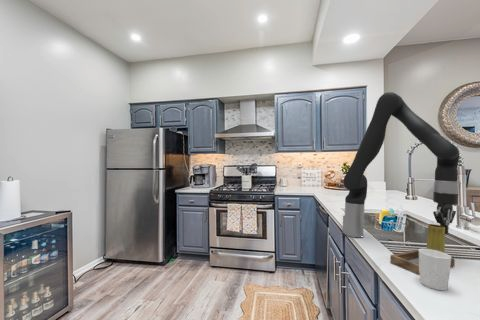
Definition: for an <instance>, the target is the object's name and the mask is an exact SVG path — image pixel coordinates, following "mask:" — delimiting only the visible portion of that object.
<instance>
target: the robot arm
mask: <svg viewBox="0 0 480 320" xmlns="http://www.w3.org/2000/svg"><path fill="white" fill-rule="evenodd" d="M391 117H394V118H395V119H397V121H399V122H401V123H402V124H403V125H404V127H406V129H407V130H408V131H409V132H410V133H411V134H412V136H413V137H415V138H416V139H417V140H418V141H419V142H421V144H423V145H424V146H426V148H427V149H428V150H429V151H430V152H431V153H432V154H433V155H434V156H435V157H436V167H435V171H434V182H433V191H432V192H433V195H432V196H433V197H432V201H433V202H434V203H437V206H436V211H435V210H434V211H433V212H432V213H433V216H434V219H435V221H436V223H437V224H438V225H440V226H444V227H445V236H447V235H449V226H450V225H451V224H453V221H454V218H455V217H456V213H457V212H456V210H454V205H458V203H459V202H458V201H459V199H458V198H459V183H458V178H459V177H458V175H459V172H458V168H459V167H458V165H459V161H460V151H459V148H458V147H457V146H456V145H455V144H453V142H450V141H449V140H448V139H447V138H445V137H444V136H443V135H441V133H440V132H439V131H438V130H437V129H436V128H434V127H433V126H432V124H431V125H430V124H429V123H428V122H427V121H425V120H424V119H423V118H421V117H420V116H419V115H418V114H417V113H415V111H413V110H412V109H411V108H410V107H409V106H408V104H407V103H406V101H404V99H403V98H402V97H401V96H400V95H399V94H397V93H395V92H393V91H387V92H384V93H383V94H382V95H380V96H379V97H378V99H377V101H376V105H375V107H374V110H373V114H372V117H371V121H370V122H369V124H368V126H367V128H366V131H365V133H364V135H363V137H362V140H361V141H360V144H359V147H358V149H357V152H356V154H355V156H354V158H353V160H352V163H351V165H350V166H349V169H348V170H347V172H346V173H345V175H344V178H343V185H344V188H345V189H347V191H349V192H348V194H347V195H346V196H345V198H344V199H345V203H344V215H342V234H343V235H345V236H348V237H350V238H355V237H361V236H363V237H364V231H365V230H364V228H365V203H366V200H367V197H368V196H367V193H368V192H367V191H368V179H367V177H366V176H365V175H364V174H365V171H366V169H367V167H369V165H370V164H371V163H372V162H373V161H374V160H375V158H376V157H377V156H378V154H379V153H380V150H381V149H382V146H383V145H384V141H385V138H386V132H387V131H386V130H387V125H388V122H389V120H390V118H391Z"/></svg>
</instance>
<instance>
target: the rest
mask: <svg viewBox="0 0 480 320" xmlns="http://www.w3.org/2000/svg"><path fill="white" fill-rule="evenodd" d="M419 249H420V248H418V249H414V250H410V251H409V250H408V251H405V252H400V253H399V252H398V253H394V254H390V261H389V262H390V264H392V265H395V266H397V267H400V268H402V269H405V270H406V271H409V272H411V273H414V274H417V275H419V276H420V273H419ZM455 262H456V260H455V258H453V257H451V265H450V269H452V268H454V267H455ZM453 266H454V267H453ZM451 267H452V268H451Z"/></svg>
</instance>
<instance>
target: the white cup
mask: <svg viewBox="0 0 480 320" xmlns="http://www.w3.org/2000/svg"><path fill="white" fill-rule="evenodd" d="M418 249H419V273H420V275H419V282H420V283H421V284H422V285H424V286H426V287H427V288H430V289H433V290H437V291H447V290H448V288H449V280H450V276H451V275H450V273H451V268H450V265H451V258H452V255H449V254H447V253H446V252H445V253H443V252H440V251H436V250H431V249H426V248H418Z"/></svg>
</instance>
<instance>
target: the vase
mask: <svg viewBox="0 0 480 320" xmlns="http://www.w3.org/2000/svg"><path fill="white" fill-rule="evenodd" d="M426 238H427V239H426V248H425V249H431V250H436V251H440V252H443V253H446V248H445V247H446V235H445V227H444V226H440V224H433V223H429V224H427V236H426Z"/></svg>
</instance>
